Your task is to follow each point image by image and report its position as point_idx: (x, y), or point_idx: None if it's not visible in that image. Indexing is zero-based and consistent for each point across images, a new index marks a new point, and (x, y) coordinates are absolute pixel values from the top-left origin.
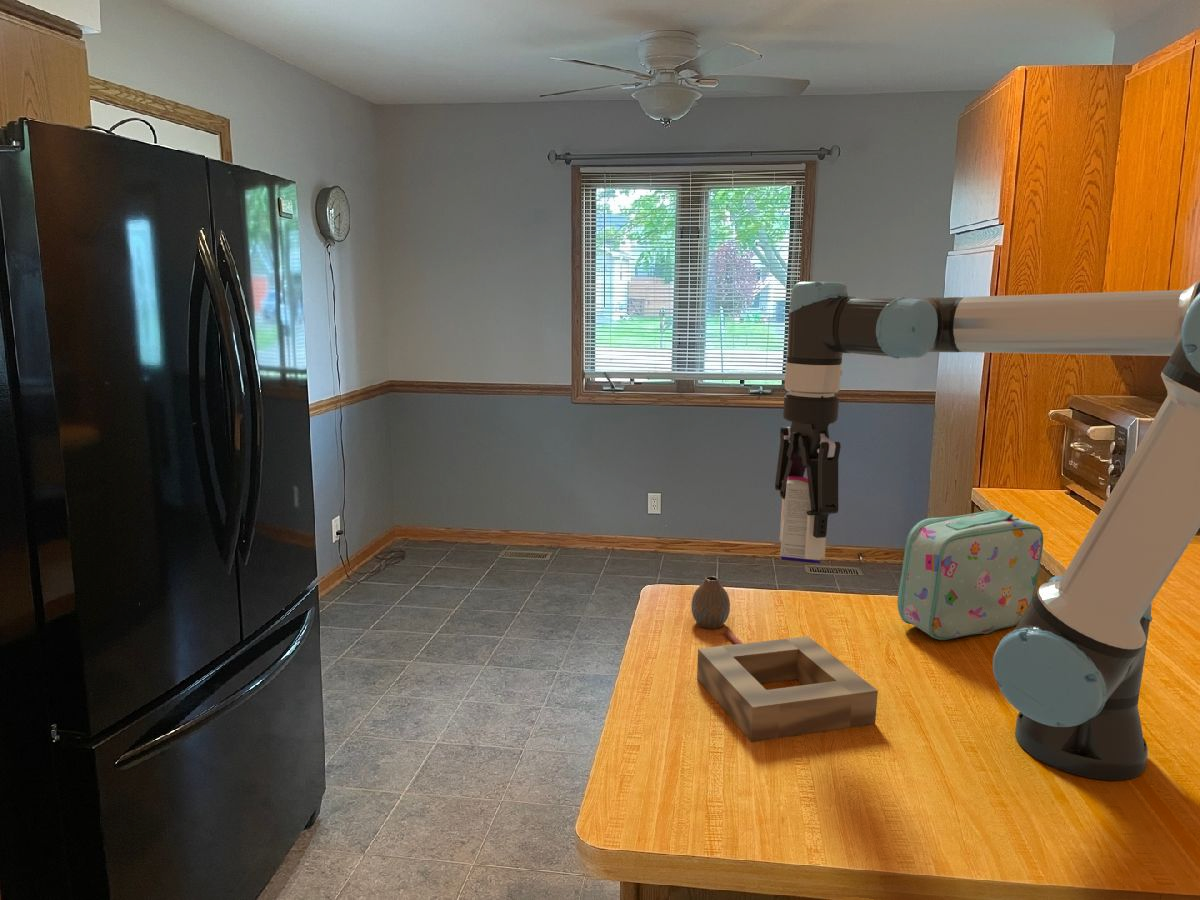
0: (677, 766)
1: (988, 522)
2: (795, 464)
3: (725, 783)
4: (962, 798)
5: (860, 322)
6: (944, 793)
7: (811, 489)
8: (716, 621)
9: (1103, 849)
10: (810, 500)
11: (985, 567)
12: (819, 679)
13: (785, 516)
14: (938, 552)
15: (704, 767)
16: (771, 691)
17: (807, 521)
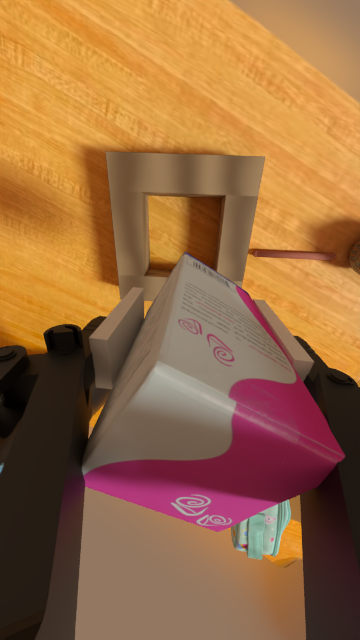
0: (84, 37)
1: (248, 536)
2: (345, 606)
3: (52, 89)
4: (34, 283)
5: None
6: (40, 276)
7: (42, 419)
8: (352, 251)
9: None
10: (75, 374)
11: None
12: None
13: (172, 285)
14: None
15: (80, 76)
16: (136, 196)
17: (115, 325)
